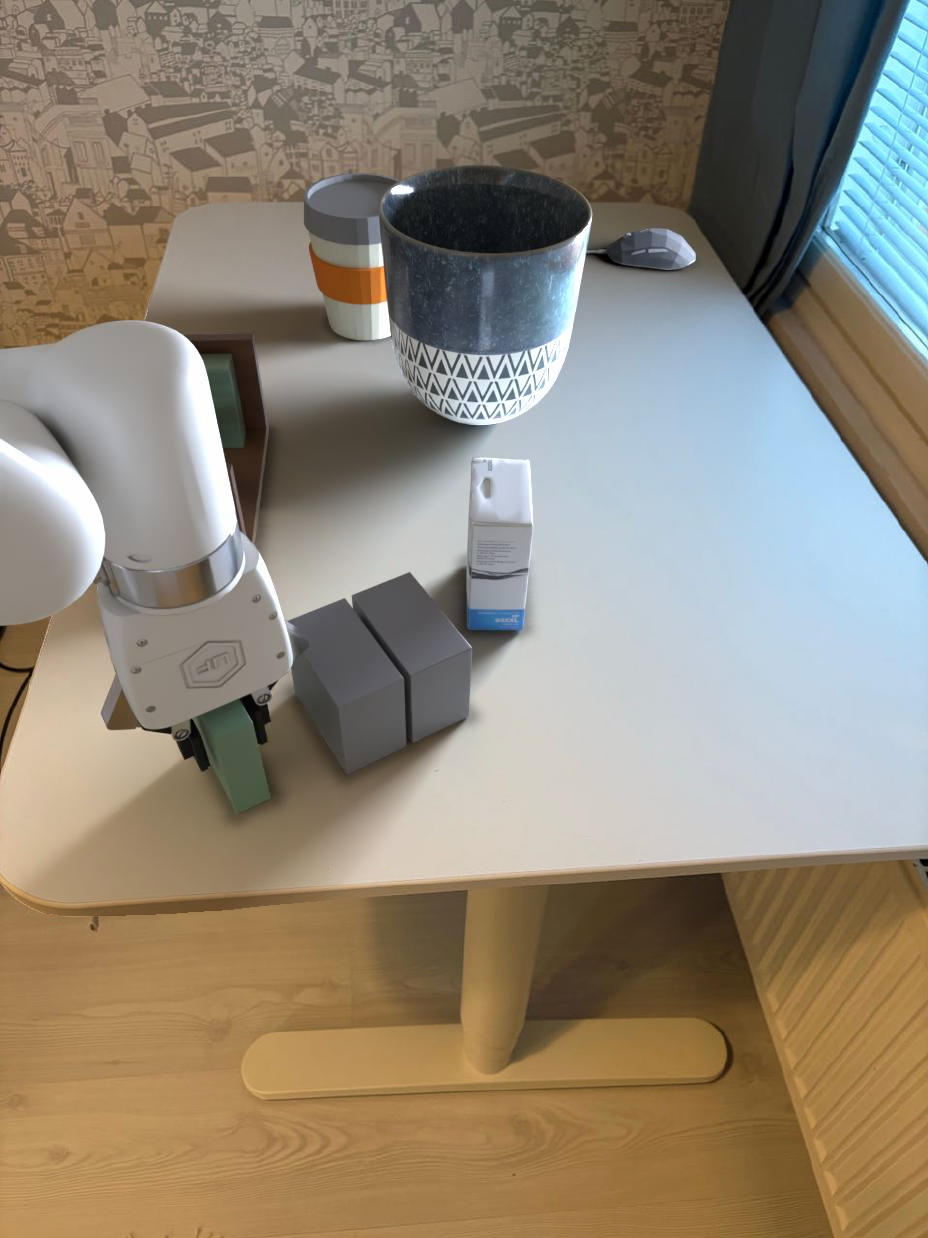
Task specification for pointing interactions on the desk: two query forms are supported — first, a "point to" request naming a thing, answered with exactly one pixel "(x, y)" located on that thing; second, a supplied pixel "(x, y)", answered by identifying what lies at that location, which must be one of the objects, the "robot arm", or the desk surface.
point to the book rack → (238, 417)
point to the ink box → (498, 543)
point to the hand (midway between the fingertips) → (227, 741)
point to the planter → (482, 285)
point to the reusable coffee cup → (349, 252)
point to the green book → (234, 754)
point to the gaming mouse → (650, 249)
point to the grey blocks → (381, 671)
